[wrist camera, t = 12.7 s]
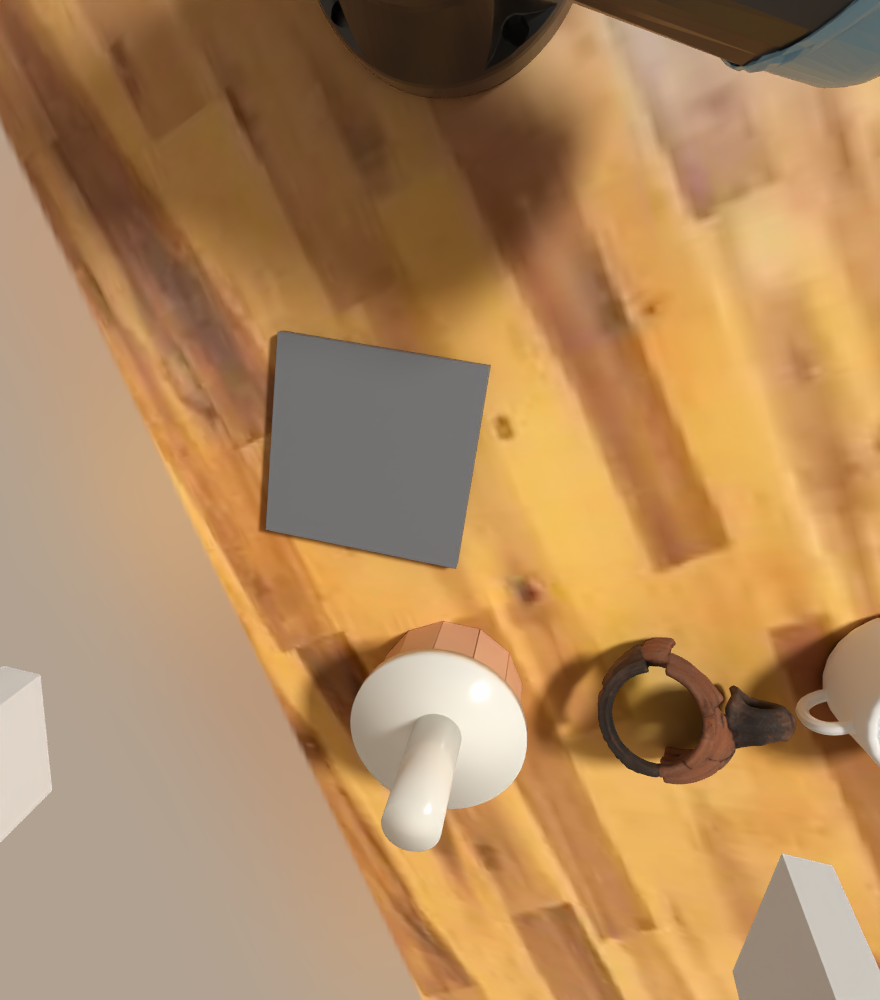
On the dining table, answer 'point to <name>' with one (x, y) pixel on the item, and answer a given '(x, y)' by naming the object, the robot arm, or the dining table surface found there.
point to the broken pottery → (719, 733)
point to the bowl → (462, 648)
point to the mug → (850, 690)
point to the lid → (436, 739)
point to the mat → (373, 446)
